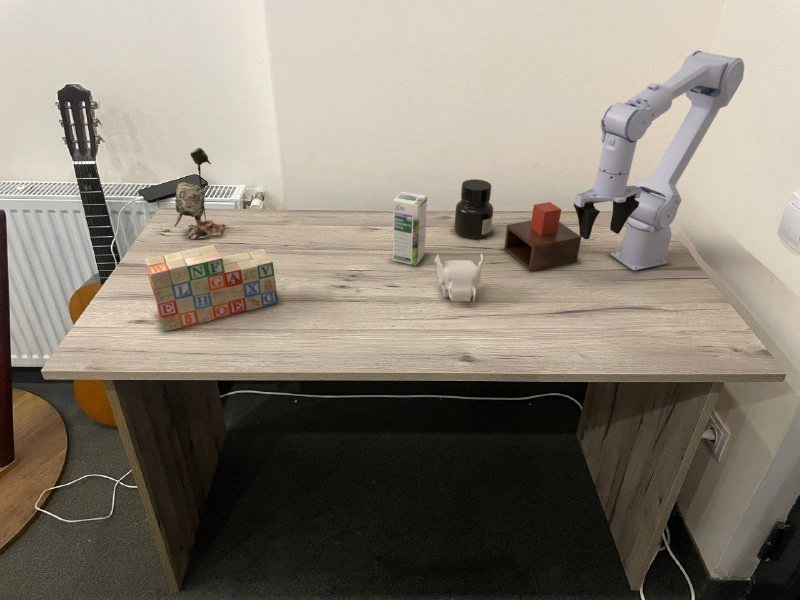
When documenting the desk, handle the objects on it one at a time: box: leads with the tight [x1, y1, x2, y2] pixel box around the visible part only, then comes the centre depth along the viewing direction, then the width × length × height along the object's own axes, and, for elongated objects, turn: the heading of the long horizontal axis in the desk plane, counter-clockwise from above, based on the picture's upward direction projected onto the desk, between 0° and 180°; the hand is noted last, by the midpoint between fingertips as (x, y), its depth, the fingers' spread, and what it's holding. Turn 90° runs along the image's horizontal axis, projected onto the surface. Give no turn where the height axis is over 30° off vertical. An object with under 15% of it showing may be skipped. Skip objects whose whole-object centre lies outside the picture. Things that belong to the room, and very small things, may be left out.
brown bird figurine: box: [173, 147, 227, 240], centre depth 137 cm, size 8×11×20 cm
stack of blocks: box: [144, 244, 279, 332], centre depth 111 cm, size 21×6×12 cm, turn 117°
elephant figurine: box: [433, 253, 484, 302], centre depth 118 cm, size 10×12×9 cm
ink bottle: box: [453, 178, 494, 240], centre depth 142 cm, size 10×9×12 cm
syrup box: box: [392, 191, 428, 266], centre depth 129 cm, size 6×6×14 cm
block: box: [530, 201, 562, 236], centre depth 130 cm, size 4×4×6 cm
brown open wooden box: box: [503, 219, 582, 272], centre depth 133 cm, size 12×11×6 cm
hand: (599, 234), depth 121 cm, fingers open, 7 cm apart
